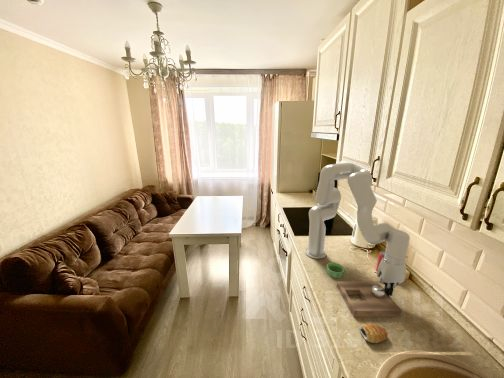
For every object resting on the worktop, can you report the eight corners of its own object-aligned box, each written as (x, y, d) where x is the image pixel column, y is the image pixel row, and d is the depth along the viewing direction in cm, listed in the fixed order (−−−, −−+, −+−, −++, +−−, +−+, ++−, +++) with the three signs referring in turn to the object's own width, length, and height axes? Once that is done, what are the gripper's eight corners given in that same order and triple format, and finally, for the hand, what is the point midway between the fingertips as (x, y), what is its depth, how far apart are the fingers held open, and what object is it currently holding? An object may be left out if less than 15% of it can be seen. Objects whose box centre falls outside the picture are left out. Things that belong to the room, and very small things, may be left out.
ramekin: (326, 267, 122) (326, 261, 121) (343, 271, 119) (344, 264, 118) (325, 277, 114) (326, 270, 113) (344, 281, 111) (344, 274, 110)
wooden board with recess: (336, 286, 107) (337, 281, 106) (376, 286, 107) (377, 281, 107) (353, 316, 90) (354, 310, 89) (400, 316, 90) (401, 310, 89)
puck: (369, 290, 100) (369, 285, 99) (379, 290, 100) (380, 285, 99) (375, 298, 95) (376, 293, 95) (386, 298, 95) (387, 293, 95)
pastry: (379, 327, 85) (380, 319, 84) (392, 342, 78) (393, 334, 77) (357, 329, 84) (358, 321, 83) (368, 345, 77) (369, 336, 76)
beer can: (387, 270, 120) (391, 251, 117) (391, 277, 114) (395, 257, 111) (374, 268, 122) (377, 249, 119) (377, 275, 116) (381, 255, 113)
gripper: (405, 253, 97) (398, 287, 101) (372, 253, 97) (367, 288, 101) (418, 263, 90) (410, 299, 94) (382, 263, 89) (376, 300, 94)
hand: (387, 293), depth 98 cm, fingers closed
